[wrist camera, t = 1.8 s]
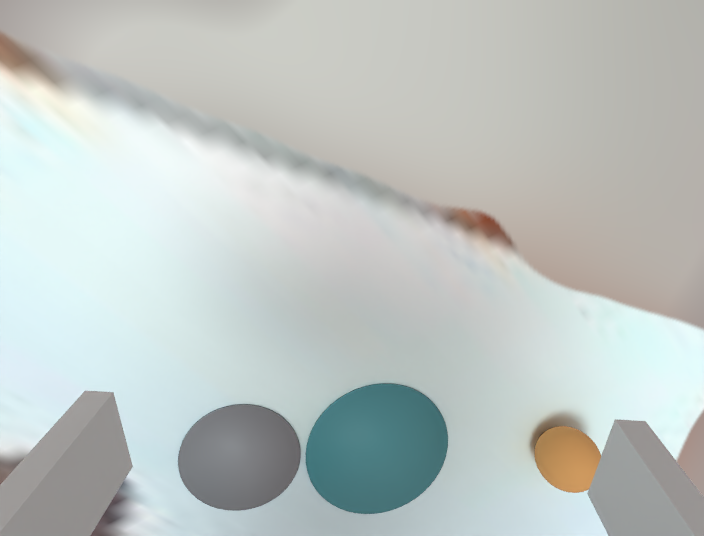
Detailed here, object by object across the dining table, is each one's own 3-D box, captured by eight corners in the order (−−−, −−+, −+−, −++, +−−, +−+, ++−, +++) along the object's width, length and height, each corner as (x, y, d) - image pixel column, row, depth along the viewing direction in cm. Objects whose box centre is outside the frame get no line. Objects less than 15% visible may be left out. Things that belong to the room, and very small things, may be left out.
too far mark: (298, 504, 38) (298, 505, 38) (180, 513, 37) (179, 514, 36) (301, 402, 36) (302, 403, 36) (177, 406, 35) (176, 408, 34)
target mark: (439, 506, 41) (440, 507, 41) (303, 517, 39) (303, 519, 39) (454, 381, 38) (455, 382, 38) (308, 385, 36) (308, 386, 36)
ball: (569, 463, 43) (611, 504, 37) (519, 466, 42) (554, 509, 37) (579, 413, 42) (623, 448, 36) (527, 415, 41) (564, 452, 35)
